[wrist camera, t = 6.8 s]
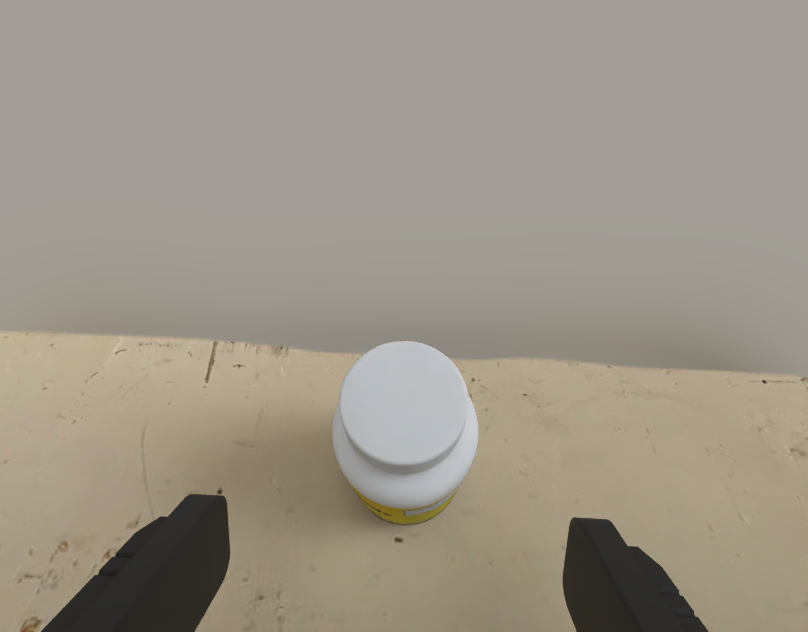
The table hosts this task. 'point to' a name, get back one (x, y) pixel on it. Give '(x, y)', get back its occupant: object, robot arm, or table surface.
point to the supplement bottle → (404, 431)
